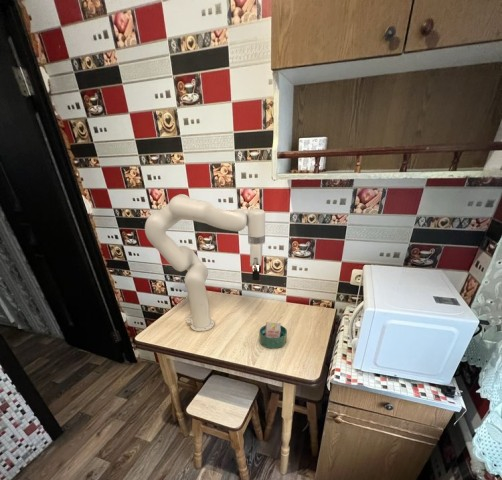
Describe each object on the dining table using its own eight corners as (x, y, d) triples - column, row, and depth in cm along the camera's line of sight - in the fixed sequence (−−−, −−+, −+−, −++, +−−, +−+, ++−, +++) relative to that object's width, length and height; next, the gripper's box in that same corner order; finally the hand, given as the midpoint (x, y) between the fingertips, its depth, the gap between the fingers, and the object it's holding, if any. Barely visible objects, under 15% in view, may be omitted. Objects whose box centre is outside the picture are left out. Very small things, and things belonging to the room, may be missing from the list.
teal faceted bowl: (262, 350, 129) (262, 340, 125) (257, 335, 139) (257, 325, 136) (289, 347, 130) (290, 336, 127) (282, 332, 141) (282, 322, 138)
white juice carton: (266, 337, 137) (266, 320, 131) (280, 339, 135) (280, 321, 130) (265, 342, 134) (265, 324, 128) (279, 343, 132) (279, 325, 127)
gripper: (250, 234, 131) (251, 269, 140) (246, 244, 117) (247, 282, 126) (266, 234, 130) (265, 269, 140) (263, 245, 116) (263, 283, 125)
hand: (256, 275), depth 133 cm, fingers open, 9 cm apart
